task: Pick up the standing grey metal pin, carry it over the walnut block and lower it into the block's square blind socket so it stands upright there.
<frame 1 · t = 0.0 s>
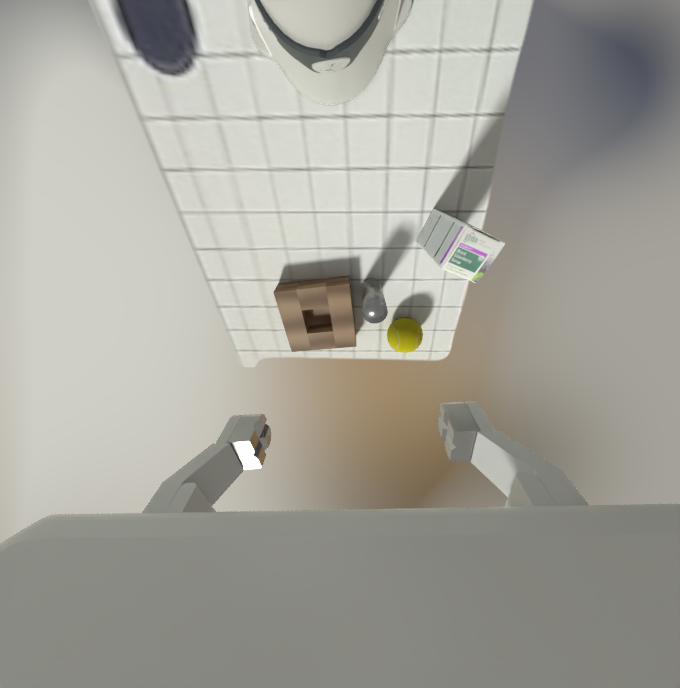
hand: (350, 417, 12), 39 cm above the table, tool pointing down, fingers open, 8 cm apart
socket block: (319, 311, 52), on the table
tennis ball: (401, 325, 54), on the table
pin: (371, 287, 49), on the table
syrup box: (438, 230, 43), on the table
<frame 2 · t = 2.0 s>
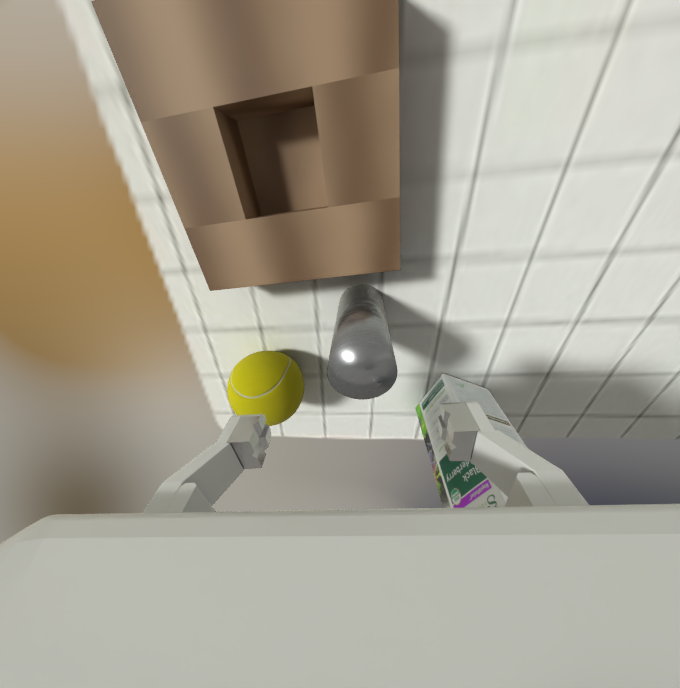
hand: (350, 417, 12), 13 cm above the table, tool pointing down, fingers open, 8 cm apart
socket block: (291, 166, 18), on the table
tennis ball: (278, 364, 27), on the table
pin: (361, 305, 23), on the table
syrup box: (450, 396, 28), on the table
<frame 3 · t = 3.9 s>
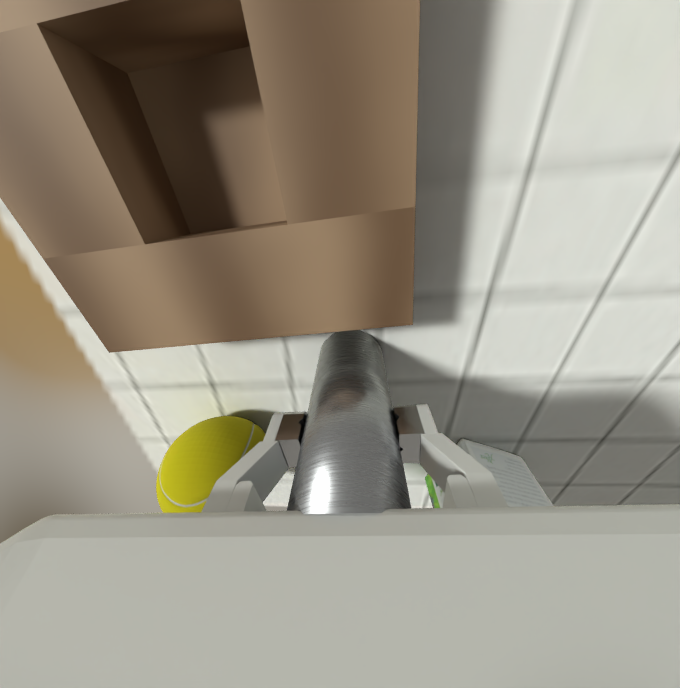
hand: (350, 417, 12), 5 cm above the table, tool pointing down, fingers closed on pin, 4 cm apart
socket block: (234, 156, 11), on the table
tennis ball: (241, 427, 20), on the table
pin: (350, 357, 16), on the table, touching gripper
syrup box: (470, 463, 21), on the table
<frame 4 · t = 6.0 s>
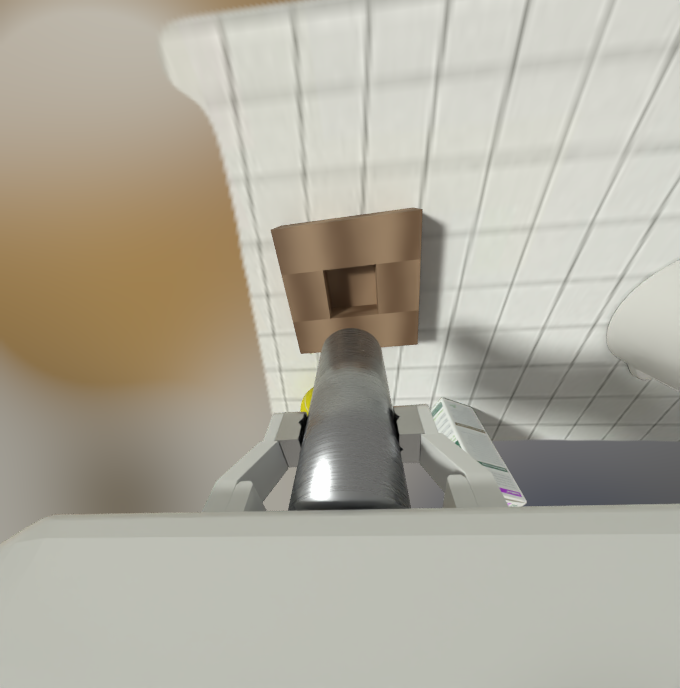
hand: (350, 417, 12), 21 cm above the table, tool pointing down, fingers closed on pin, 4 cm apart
socket block: (352, 282, 30), on the table
tennis ball: (327, 392, 39), on the table
pin: (351, 355, 16), point 16 cm above the table, touching gripper
syrup box: (446, 412, 40), on the table
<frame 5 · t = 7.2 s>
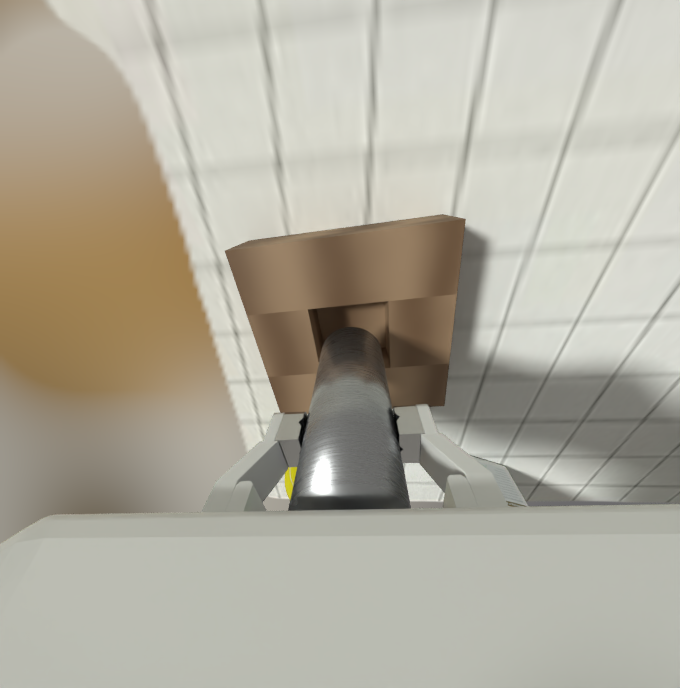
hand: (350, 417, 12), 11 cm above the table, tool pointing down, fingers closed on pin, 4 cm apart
socket block: (351, 317, 21), on the table
pin: (351, 353, 17), point 6 cm above the table, touching gripper
syrup box: (472, 470, 32), on the table
when the fingers open (8 cm above the table, at t = 8.3 s): pin stays where it is, resting on socket block.
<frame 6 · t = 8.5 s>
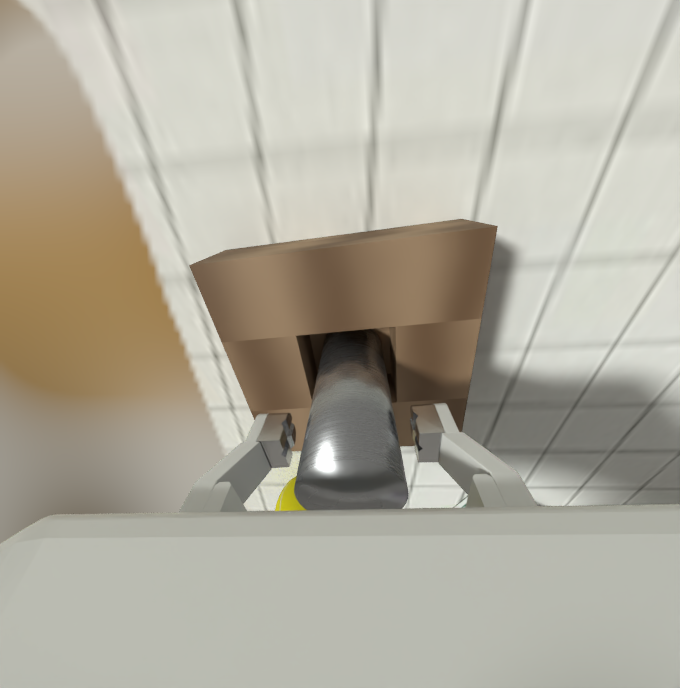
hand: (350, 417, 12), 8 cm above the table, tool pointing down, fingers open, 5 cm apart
socket block: (350, 338, 18), on the table
tennis ball: (316, 476, 27), on the table
pin: (352, 347, 17), point 1 cm above the table, touching socket block
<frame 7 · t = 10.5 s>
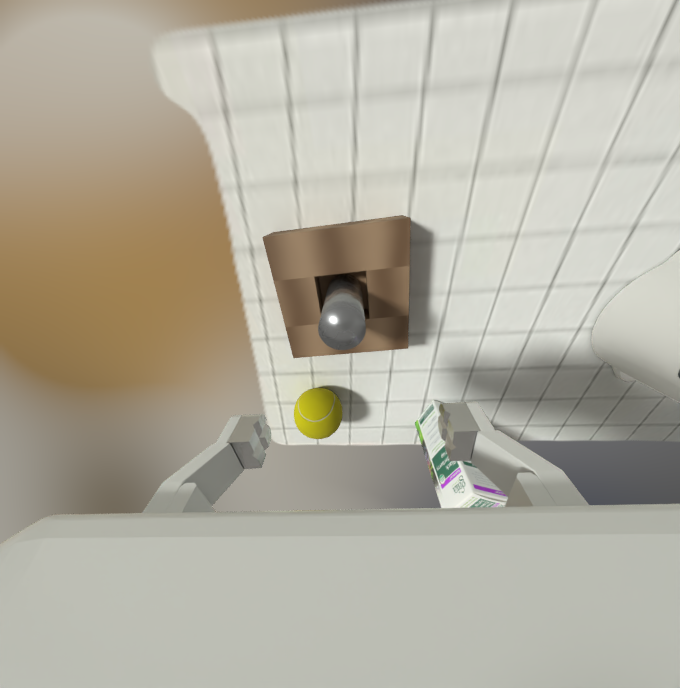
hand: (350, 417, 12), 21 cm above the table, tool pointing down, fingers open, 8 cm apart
socket block: (343, 287, 30), on the table
tennis ball: (320, 395, 39), on the table
pin: (344, 291, 29), point 1 cm above the table, touching socket block
syrup box: (438, 414, 41), on the table
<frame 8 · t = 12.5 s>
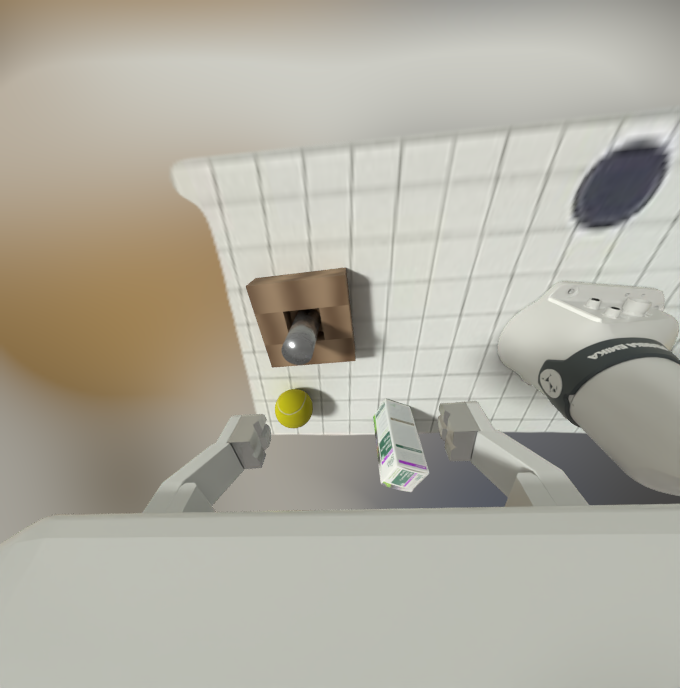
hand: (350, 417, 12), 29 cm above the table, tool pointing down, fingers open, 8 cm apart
socket block: (308, 315, 41), on the table
tennis ball: (297, 394, 50), on the table
pin: (308, 319, 40), point 1 cm above the table, touching socket block
syrup box: (391, 410, 51), on the table
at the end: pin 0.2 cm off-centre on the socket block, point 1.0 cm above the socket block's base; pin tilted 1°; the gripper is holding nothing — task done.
